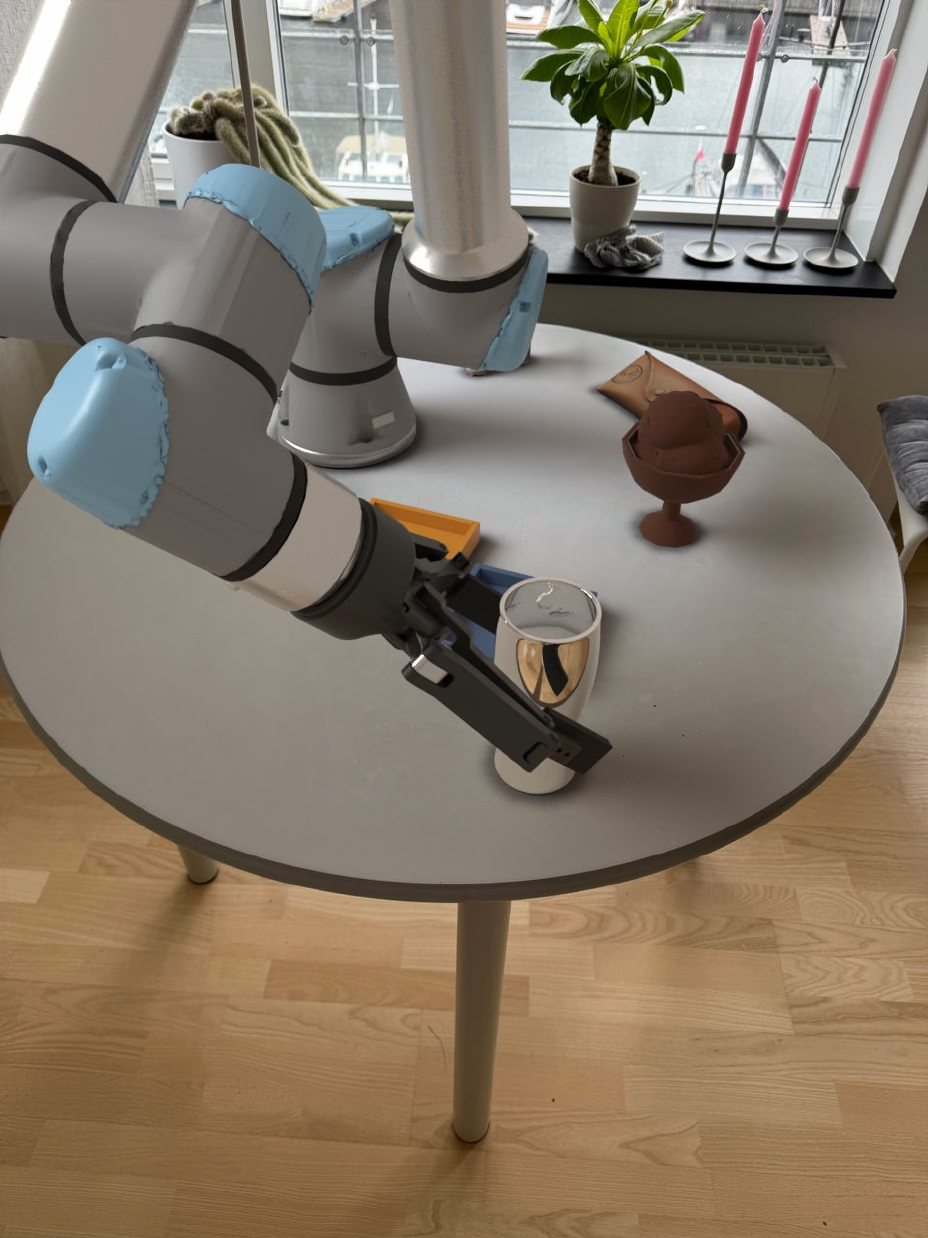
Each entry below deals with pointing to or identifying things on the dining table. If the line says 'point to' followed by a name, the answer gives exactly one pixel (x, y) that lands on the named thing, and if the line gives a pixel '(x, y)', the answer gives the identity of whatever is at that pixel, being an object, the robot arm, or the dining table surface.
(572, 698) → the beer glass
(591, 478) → the dining table surface
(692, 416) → the ice cream bowl
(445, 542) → the amber tray
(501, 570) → the blue tray
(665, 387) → the sunglasses case
